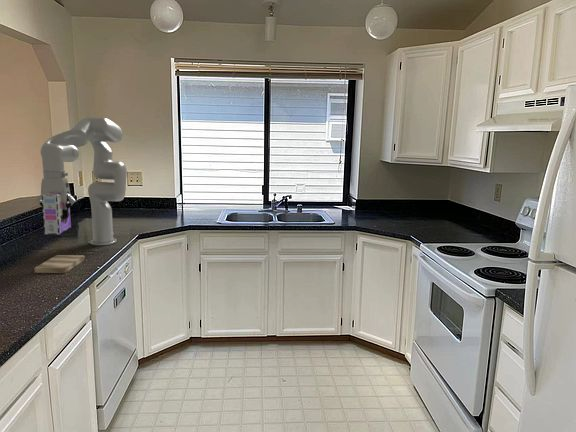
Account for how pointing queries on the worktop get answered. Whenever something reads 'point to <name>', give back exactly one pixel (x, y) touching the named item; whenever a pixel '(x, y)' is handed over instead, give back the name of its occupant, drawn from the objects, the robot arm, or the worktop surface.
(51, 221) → the candy box
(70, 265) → the cutting board
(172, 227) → the worktop surface
